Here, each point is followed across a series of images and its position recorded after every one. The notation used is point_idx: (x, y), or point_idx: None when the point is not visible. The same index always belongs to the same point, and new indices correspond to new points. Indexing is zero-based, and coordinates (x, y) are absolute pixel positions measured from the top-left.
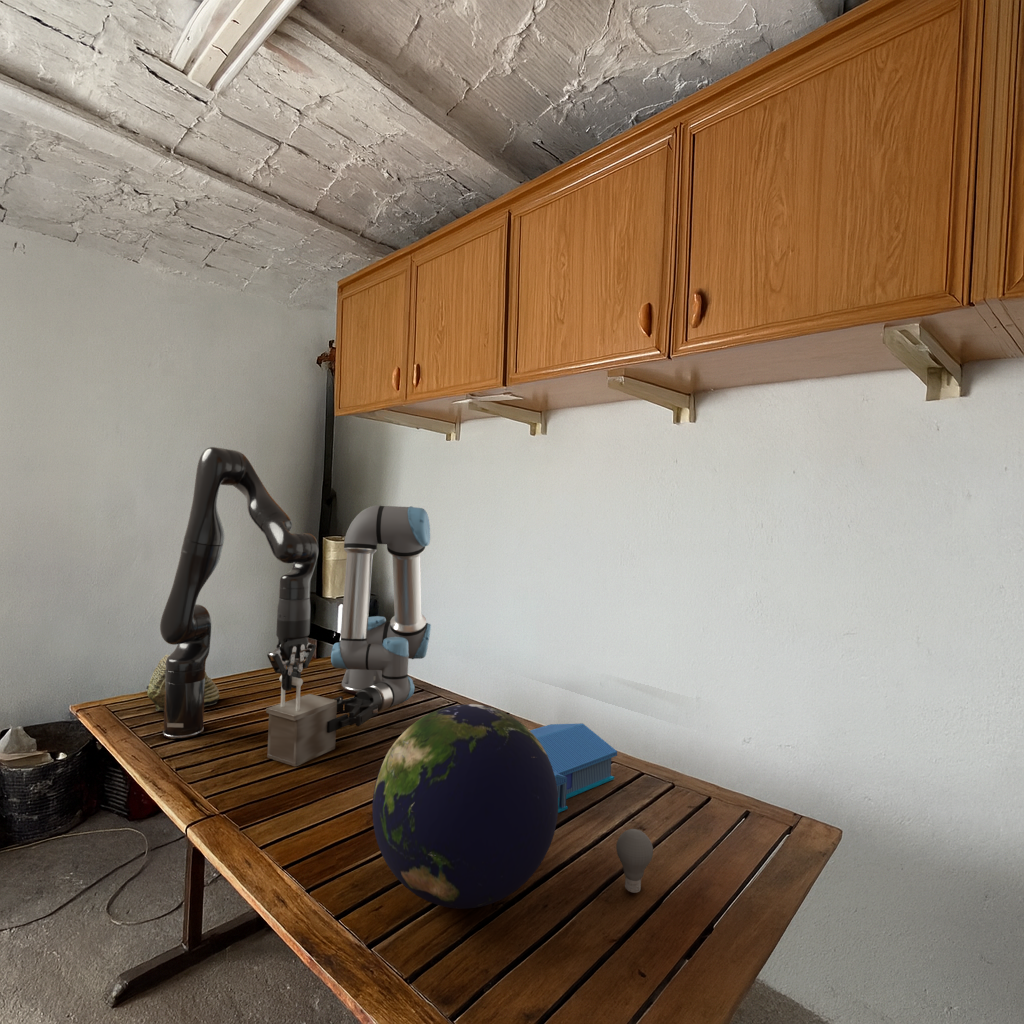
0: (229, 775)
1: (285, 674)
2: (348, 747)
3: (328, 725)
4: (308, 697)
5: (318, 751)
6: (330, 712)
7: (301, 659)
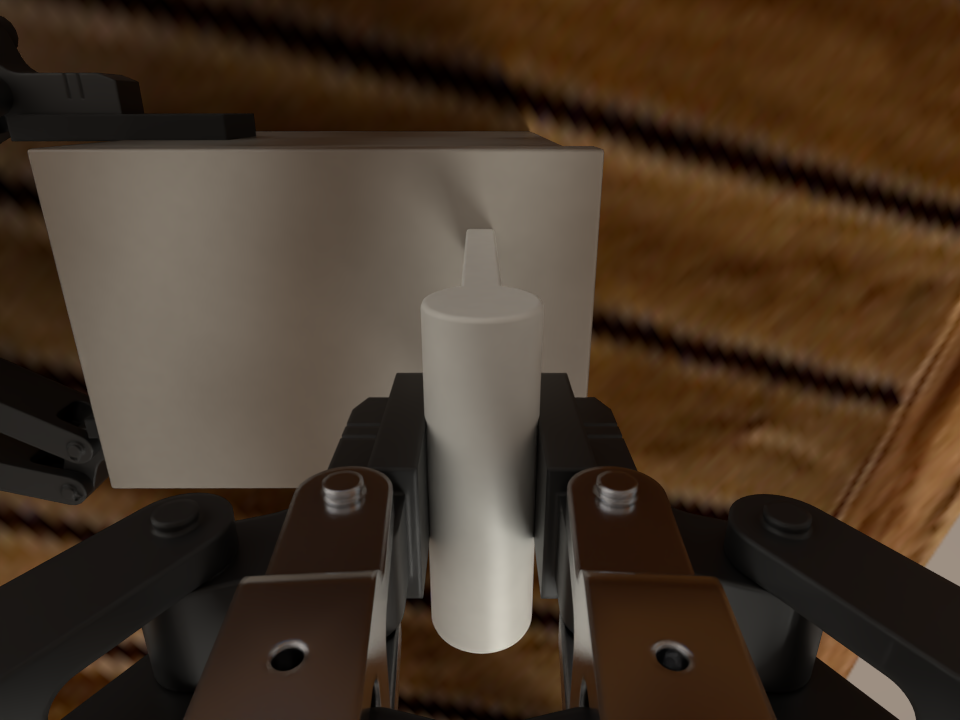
0: (763, 327)
1: (677, 511)
2: (150, 79)
3: (235, 124)
4: (179, 427)
5: (354, 132)
6: (164, 143)
7: (318, 623)
